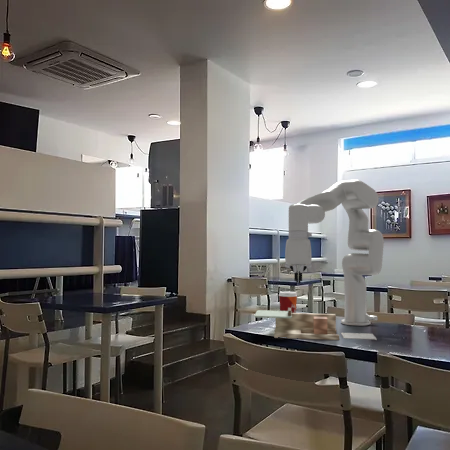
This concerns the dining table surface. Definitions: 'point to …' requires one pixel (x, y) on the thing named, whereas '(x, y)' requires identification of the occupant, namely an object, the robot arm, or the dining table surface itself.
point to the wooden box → (304, 326)
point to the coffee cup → (288, 301)
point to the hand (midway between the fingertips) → (298, 282)
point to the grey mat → (358, 336)
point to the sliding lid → (273, 314)
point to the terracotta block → (320, 325)
